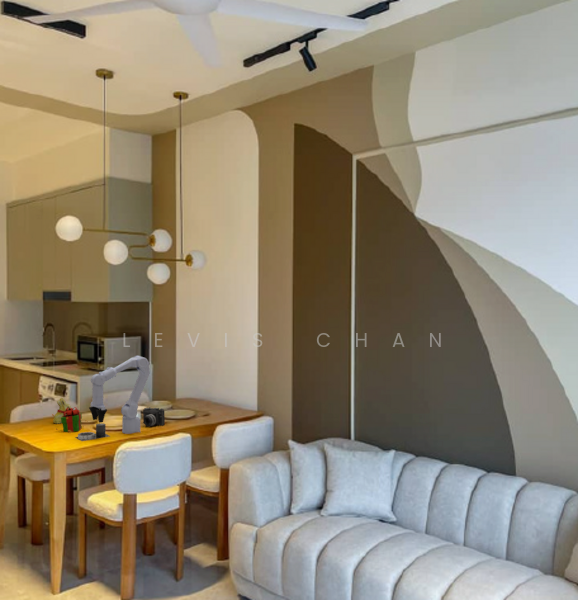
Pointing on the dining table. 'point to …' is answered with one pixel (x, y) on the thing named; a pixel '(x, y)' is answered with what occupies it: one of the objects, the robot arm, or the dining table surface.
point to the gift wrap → (71, 420)
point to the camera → (153, 416)
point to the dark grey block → (100, 429)
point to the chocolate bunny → (60, 410)
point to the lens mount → (89, 436)
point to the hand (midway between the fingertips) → (98, 420)
